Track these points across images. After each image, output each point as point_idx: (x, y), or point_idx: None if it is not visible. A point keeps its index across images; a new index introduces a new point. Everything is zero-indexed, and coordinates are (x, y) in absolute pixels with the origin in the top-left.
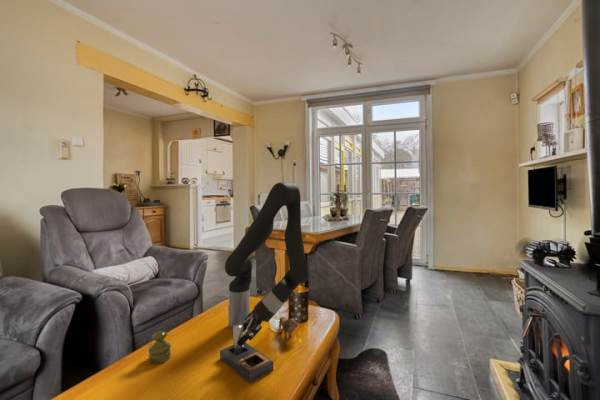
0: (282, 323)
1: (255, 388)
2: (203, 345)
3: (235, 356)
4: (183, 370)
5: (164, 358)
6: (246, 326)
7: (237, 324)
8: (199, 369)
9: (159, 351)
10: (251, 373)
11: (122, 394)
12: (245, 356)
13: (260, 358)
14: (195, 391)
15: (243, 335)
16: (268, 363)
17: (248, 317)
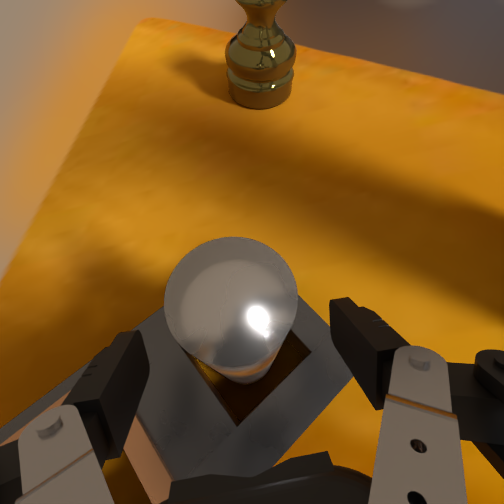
0: None
1: None
2: (350, 179)
3: (170, 340)
4: (182, 160)
5: (237, 92)
6: (384, 398)
7: (282, 277)
8: (177, 204)
9: (227, 53)
10: None
11: (109, 75)
12: (157, 413)
13: None
14: (45, 222)
15: (81, 397)
16: None
17: (447, 461)
